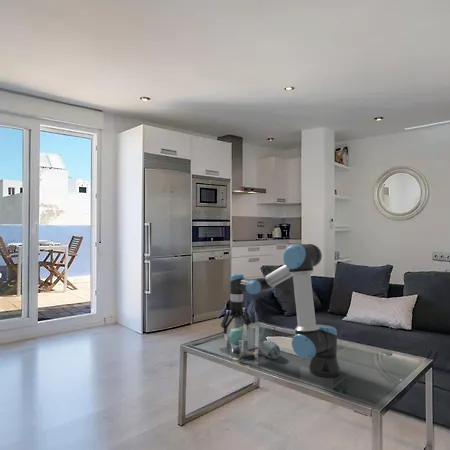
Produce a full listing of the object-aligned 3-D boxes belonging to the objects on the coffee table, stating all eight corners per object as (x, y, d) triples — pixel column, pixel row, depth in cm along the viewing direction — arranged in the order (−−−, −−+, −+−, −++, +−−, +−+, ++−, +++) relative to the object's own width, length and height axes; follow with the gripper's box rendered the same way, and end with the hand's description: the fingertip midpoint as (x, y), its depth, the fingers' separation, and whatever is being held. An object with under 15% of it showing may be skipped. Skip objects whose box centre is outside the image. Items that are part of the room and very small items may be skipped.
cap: (247, 344, 216) (247, 331, 216) (238, 346, 212) (238, 333, 212) (234, 338, 226) (234, 326, 226) (224, 340, 222) (224, 328, 222)
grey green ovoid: (286, 354, 207) (276, 337, 208) (272, 363, 204) (262, 347, 205) (277, 352, 220) (268, 337, 221) (264, 361, 217) (255, 345, 218)
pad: (258, 348, 227) (258, 347, 227) (247, 350, 223) (247, 349, 223) (250, 344, 234) (250, 343, 234) (239, 346, 229) (239, 345, 229)
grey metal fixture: (253, 355, 215) (253, 339, 215) (237, 358, 208) (237, 342, 208) (234, 346, 229) (234, 331, 229) (219, 349, 223) (219, 334, 223)
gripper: (249, 297, 229) (248, 332, 229) (215, 301, 215) (214, 339, 215) (257, 299, 223) (256, 335, 223) (222, 304, 209) (221, 342, 209)
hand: (235, 337), depth 219 cm, fingers open, 13 cm apart
